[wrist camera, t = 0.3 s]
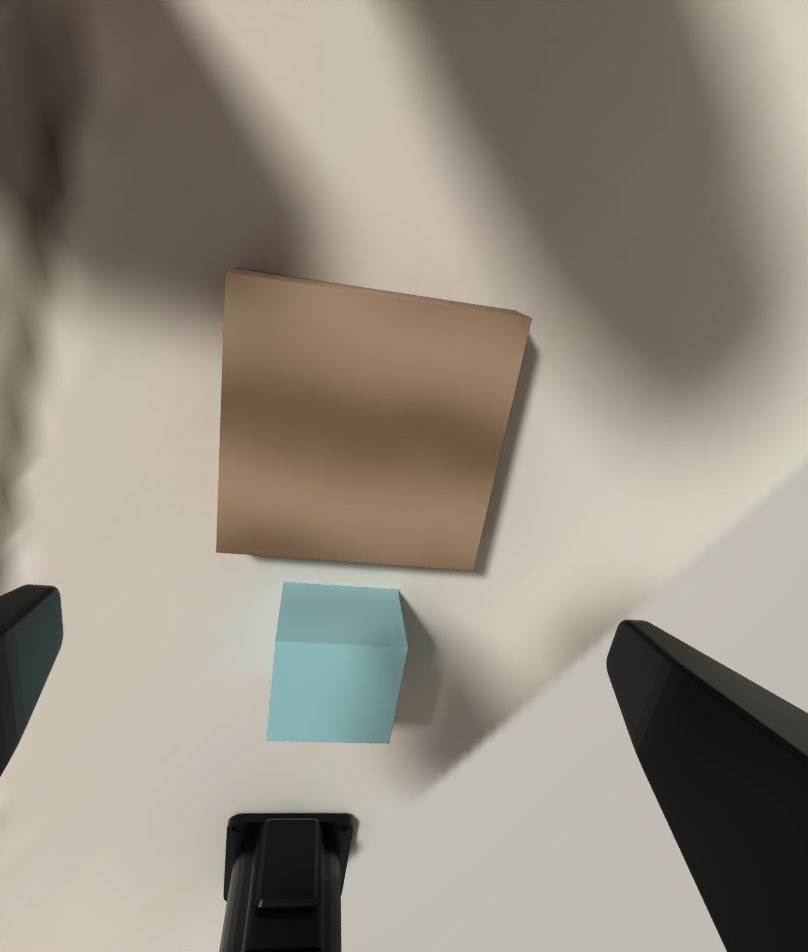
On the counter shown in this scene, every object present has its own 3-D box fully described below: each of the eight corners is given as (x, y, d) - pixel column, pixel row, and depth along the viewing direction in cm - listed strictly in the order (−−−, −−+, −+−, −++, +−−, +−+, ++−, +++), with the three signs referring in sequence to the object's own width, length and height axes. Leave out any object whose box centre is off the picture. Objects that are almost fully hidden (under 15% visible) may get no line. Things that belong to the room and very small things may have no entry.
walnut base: (462, 545, 25) (473, 570, 23) (225, 526, 23) (216, 552, 21) (514, 310, 21) (532, 318, 19) (235, 268, 19) (225, 272, 18)
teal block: (381, 675, 27) (389, 743, 24) (275, 670, 27) (266, 740, 23) (397, 587, 26) (408, 647, 22) (283, 580, 25) (275, 641, 21)
